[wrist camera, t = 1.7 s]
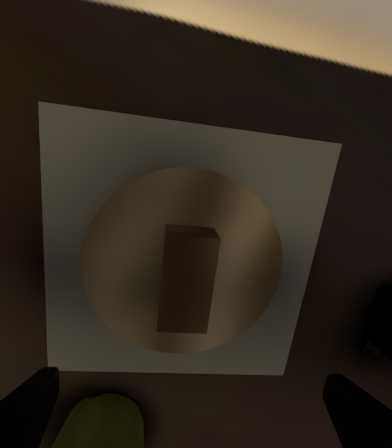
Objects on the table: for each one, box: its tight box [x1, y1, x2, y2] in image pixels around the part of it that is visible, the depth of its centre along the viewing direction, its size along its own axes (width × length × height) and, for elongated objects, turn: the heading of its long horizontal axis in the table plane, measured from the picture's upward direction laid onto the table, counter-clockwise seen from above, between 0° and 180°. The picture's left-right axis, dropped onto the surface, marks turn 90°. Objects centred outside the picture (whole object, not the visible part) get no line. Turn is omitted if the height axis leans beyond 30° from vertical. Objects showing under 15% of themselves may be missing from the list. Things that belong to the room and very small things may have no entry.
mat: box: [38, 102, 342, 375], centre depth 17 cm, size 18×18×1 cm
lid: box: [81, 167, 282, 354], centre depth 15 cm, size 13×13×3 cm
